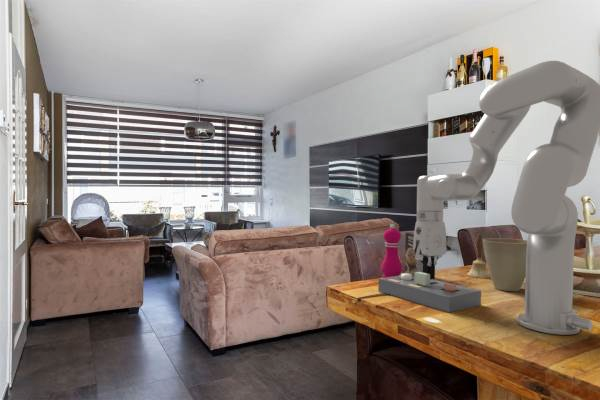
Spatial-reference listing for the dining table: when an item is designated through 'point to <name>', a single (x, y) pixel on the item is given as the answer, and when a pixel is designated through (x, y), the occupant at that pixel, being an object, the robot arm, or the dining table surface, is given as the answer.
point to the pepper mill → (391, 253)
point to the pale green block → (422, 278)
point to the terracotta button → (449, 287)
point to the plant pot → (506, 262)
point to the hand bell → (479, 262)
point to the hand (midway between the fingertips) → (428, 278)
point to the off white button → (406, 277)
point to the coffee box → (411, 256)
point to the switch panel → (431, 293)
